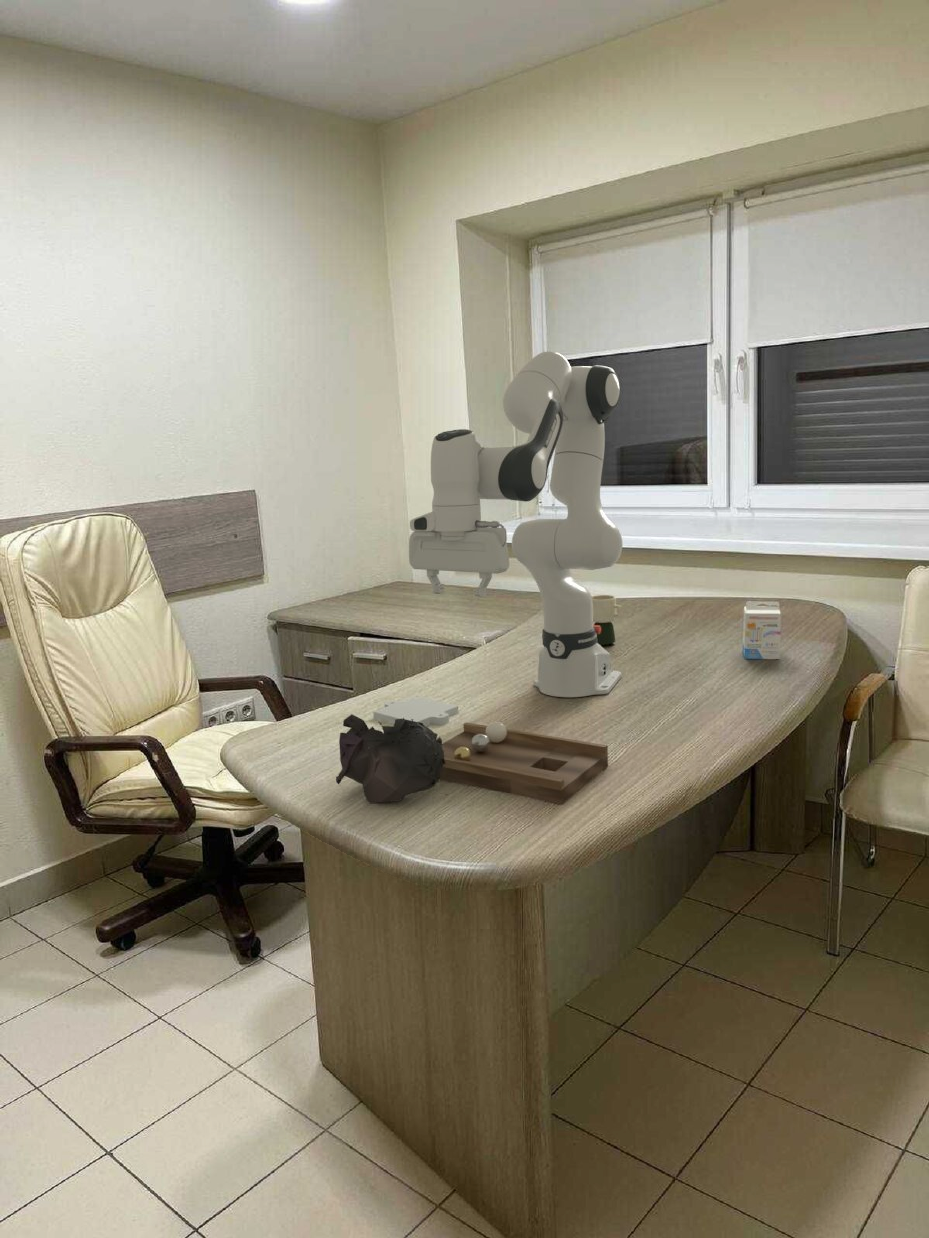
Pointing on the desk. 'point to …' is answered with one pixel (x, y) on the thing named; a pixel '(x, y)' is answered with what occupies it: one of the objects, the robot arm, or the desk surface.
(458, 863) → the desk surface
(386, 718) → the mounting plate
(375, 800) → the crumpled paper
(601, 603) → the character mug
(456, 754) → the brass ball
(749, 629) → the ink box
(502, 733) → the cream ball
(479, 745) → the steel ball
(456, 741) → the board
